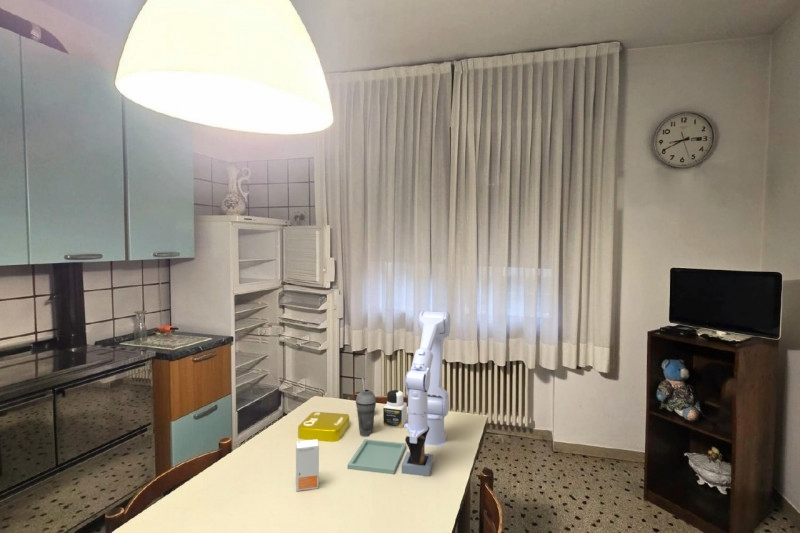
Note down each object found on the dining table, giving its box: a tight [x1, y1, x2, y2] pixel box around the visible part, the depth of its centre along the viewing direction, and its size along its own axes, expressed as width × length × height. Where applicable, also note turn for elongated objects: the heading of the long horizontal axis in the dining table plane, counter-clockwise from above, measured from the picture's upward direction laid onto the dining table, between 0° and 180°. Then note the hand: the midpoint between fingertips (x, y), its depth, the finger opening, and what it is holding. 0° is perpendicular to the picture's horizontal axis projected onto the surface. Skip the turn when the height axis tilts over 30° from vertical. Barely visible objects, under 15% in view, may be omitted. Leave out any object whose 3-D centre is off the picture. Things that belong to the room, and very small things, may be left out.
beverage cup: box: [355, 377, 377, 437], centre depth 147 cm, size 7×7×20 cm
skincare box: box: [295, 439, 320, 492], centre depth 114 cm, size 6×4×12 cm
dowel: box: [411, 435, 426, 465], centre depth 123 cm, size 4×4×9 cm
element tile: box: [297, 411, 350, 443], centre depth 149 cm, size 15×15×5 cm
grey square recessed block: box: [401, 451, 434, 477], centre depth 123 cm, size 8×8×3 cm
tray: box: [347, 439, 407, 475], centre depth 129 cm, size 17×14×2 cm
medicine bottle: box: [382, 389, 408, 429], centre depth 156 cm, size 7×7×12 cm
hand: (417, 456), depth 123 cm, fingers open, 5 cm apart
